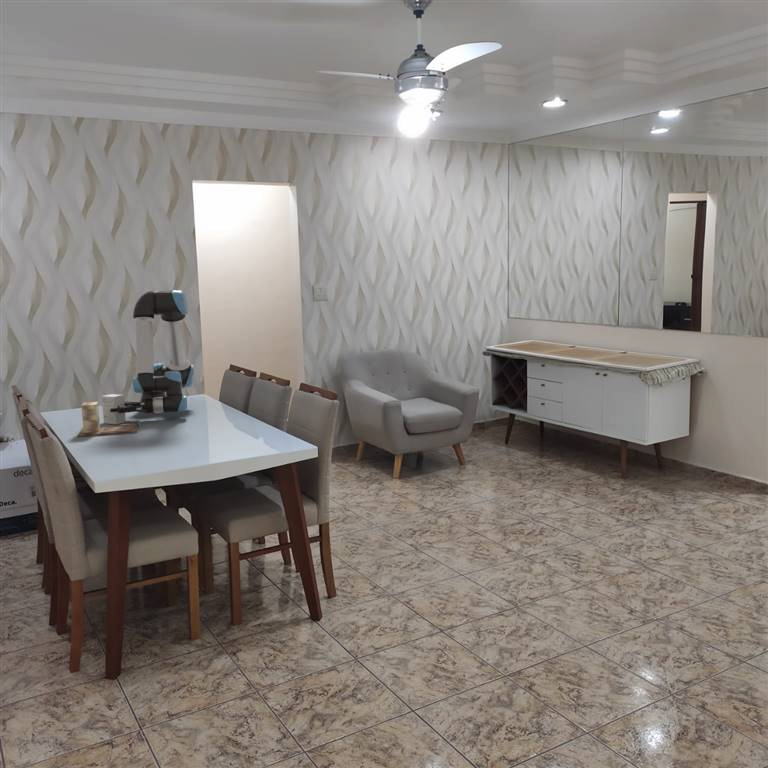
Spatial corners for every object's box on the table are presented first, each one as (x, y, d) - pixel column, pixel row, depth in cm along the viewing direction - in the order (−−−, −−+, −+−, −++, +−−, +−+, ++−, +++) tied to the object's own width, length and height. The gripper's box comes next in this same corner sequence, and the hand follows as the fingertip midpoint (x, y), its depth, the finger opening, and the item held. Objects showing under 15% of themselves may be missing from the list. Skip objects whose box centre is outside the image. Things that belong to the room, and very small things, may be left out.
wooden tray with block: (138, 425, 344) (136, 397, 342) (136, 433, 329) (134, 403, 327) (82, 429, 338) (79, 401, 336) (77, 437, 323) (75, 407, 321)
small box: (126, 422, 354) (124, 394, 352) (115, 424, 348) (113, 396, 346) (113, 420, 357) (111, 393, 355) (103, 423, 352) (101, 395, 350)
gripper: (153, 417, 346) (102, 420, 340) (154, 409, 368) (106, 412, 362) (152, 401, 345) (100, 404, 339) (153, 393, 366) (105, 396, 361)
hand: (103, 408), depth 351 cm, fingers closed on small box, 10 cm apart
